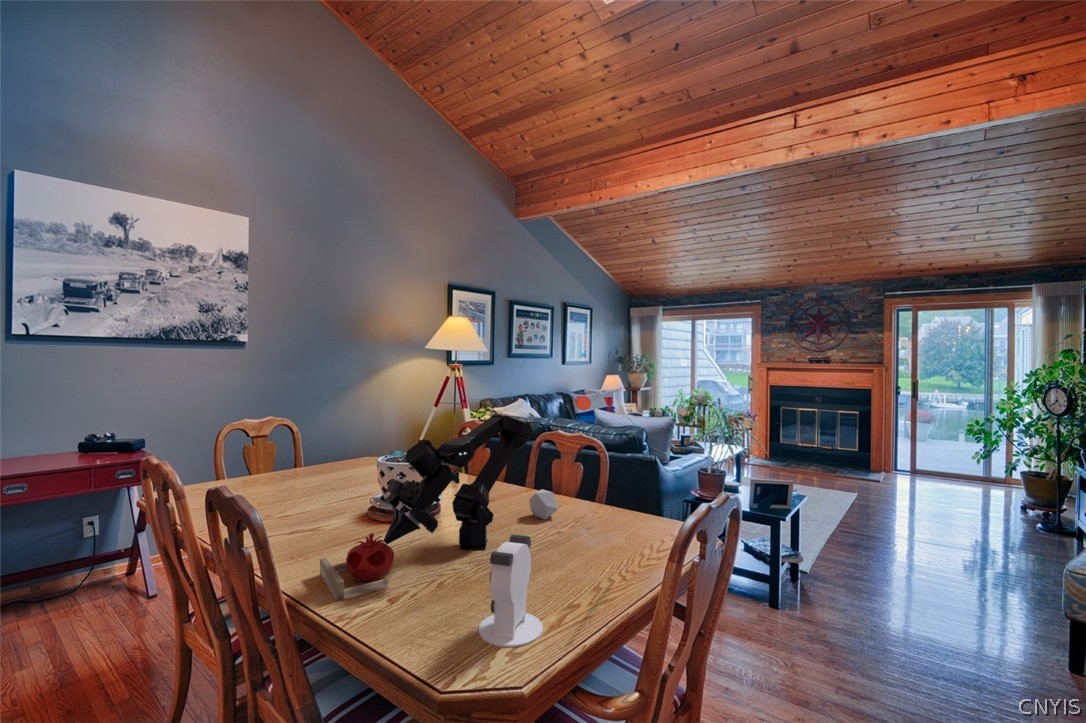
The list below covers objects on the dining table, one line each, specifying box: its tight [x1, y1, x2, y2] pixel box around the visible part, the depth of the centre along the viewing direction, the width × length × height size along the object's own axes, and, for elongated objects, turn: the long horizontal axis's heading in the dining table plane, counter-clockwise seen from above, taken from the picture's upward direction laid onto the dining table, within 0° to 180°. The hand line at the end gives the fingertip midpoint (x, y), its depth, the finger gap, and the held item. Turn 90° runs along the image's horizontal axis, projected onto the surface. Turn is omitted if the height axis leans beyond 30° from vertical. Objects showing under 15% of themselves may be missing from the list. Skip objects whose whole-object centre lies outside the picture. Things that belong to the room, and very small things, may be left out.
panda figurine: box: [478, 534, 544, 648], centre depth 88 cm, size 12×11×15 cm
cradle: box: [319, 557, 389, 602], centre depth 106 cm, size 10×15×4 cm, turn 37°
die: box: [528, 489, 559, 521], centre depth 153 cm, size 8×9×10 cm
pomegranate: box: [345, 533, 395, 582], centre depth 109 cm, size 10×10×9 cm
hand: (385, 542), depth 110 cm, fingers closed, pressing on pomegranate
